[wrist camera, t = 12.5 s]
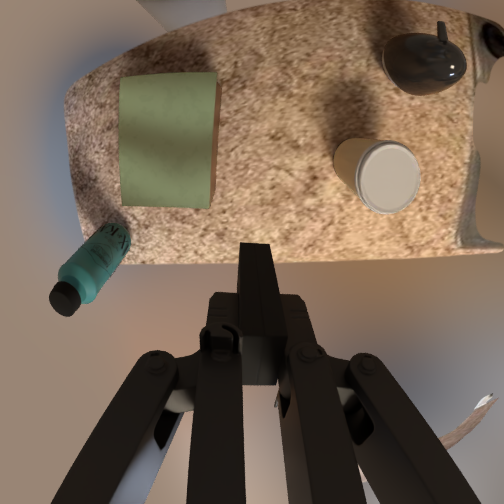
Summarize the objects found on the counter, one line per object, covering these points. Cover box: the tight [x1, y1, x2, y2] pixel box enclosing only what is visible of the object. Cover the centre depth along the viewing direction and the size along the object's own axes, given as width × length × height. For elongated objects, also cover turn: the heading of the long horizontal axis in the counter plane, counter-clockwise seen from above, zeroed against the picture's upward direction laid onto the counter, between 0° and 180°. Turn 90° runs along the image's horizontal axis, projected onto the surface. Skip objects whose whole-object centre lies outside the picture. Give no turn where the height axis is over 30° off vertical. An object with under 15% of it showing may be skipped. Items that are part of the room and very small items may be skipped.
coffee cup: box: [333, 138, 420, 214], centre depth 34 cm, size 9×9×12 cm
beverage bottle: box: [49, 223, 131, 317], centre depth 35 cm, size 6×7×20 cm
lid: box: [119, 72, 218, 209], centre depth 29 cm, size 17×12×1 cm
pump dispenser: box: [382, 21, 467, 96], centre depth 25 cm, size 10×10×15 cm
